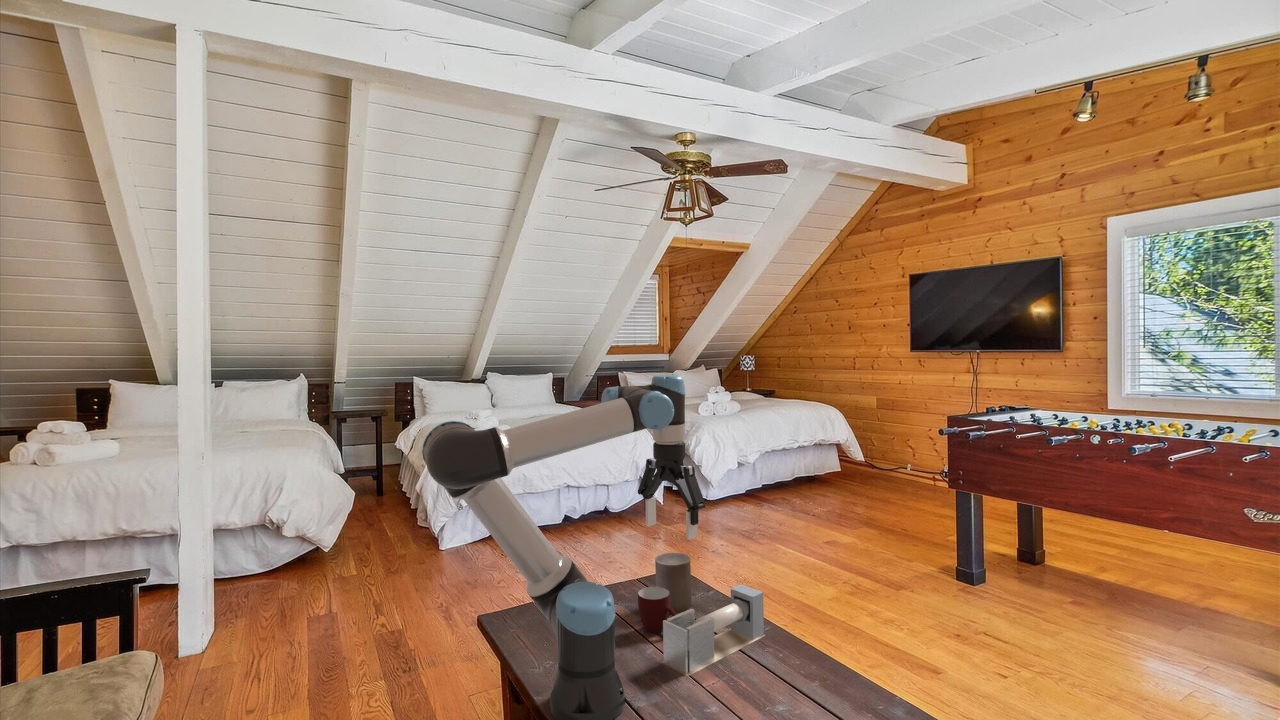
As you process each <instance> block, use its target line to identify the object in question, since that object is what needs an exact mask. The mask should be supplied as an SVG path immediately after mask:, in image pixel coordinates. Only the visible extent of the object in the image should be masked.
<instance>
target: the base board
mask: <svg viewBox="0 0 1280 720" xmlns="http://www.w3.org/2000/svg"><path fill="white" fill-rule="evenodd" d="M764 637H766V634H763V635H761V636H759V637H757V638H756V639H754V640H753V639H751V638H748V637H746V636H744V635H742V634H739V633H737V632H735V631H732V630H731V627H730V628H728V629H725V630H724V631H722V632H720V633H718V634H716V635H714V660H713V661H711V662H709V663H707V664H706V665H704V666H702V667H700V668H698V669H696V670H694V671H692V672H690V673H689V672H688V674H686V675H685V674H684V673H682V672H680V671H678V670H676V669H674V668H672V667H671V666H669V665H667V664H665V663H664V660H662V661H660V663H661V664H663V665H665V666H667V667H669V668H670V669H672V670H674V671H676V672H677V673H679V674H681V675H683V676H685V677H689V676H692V675H693V674H695V673H698V672H699V671H701V670H703V669H705V668H708V667H709V666H711V665H712V664H714V663H716V662H719V661H720V660H721V659H723V658H726V657H727V656H730V655H731V654H733V653H735V652H737V651H739V650H741V649H742V648H745V647H747V646H749V645H750V644H752V643H755V642H756V641H758V640H761V639H762V638H764Z"/></svg>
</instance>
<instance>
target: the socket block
mask: <svg viewBox="0 0 1280 720" xmlns="http://www.w3.org/2000/svg"><path fill="white" fill-rule="evenodd" d="M735 599H739V600H741V599H745V600H747V601H750V615H748V616H747V618H746V619H745V620H744V621H742V622H734V623H732V624H730V628H731V630H732V631H735V632H737V633H739V634H742V635H744V636H746V637H748V638H751V639H753V640H754V639H756V638H757V637H759V636H761V635H763V634H764V633H765V632H764V630H765V629H764V623H765V622H764V619H765V616H764V613H765V612H764V611H765V610H764V592H763V591H761V590H758V589H755V588H752V587H749V586H747V585H744V584H742V583H741V584H738V585H736V586H734V587H731V588H730V602H731V601H732V600H735ZM764 635H765V634H764Z"/></svg>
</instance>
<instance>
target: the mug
mask: <svg viewBox="0 0 1280 720" xmlns="http://www.w3.org/2000/svg"><path fill="white" fill-rule="evenodd" d="M637 605H638V610H639V615H640V621H641V625H642V626H643V628H644V630H645V632H647V633H650V634H660V633H663V621H664V620H666V621H667V619H668V618H669V615H668V614H669V613H670V614H671V615H670V618H671V617H673V616H675V615H677V613H675V611H674V609H673V608H671V607H670V592H669V591H668V590H667V589H665V588H662V587H656V586H648V587H647V586H646V587H643V588H641V589H639V590H638V592H637Z"/></svg>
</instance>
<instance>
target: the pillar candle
mask: <svg viewBox="0 0 1280 720" xmlns="http://www.w3.org/2000/svg"><path fill="white" fill-rule="evenodd" d="M654 562H655V563H654V564H655V587H662V588H665V589H667V590H668V591H669V592H670V607H671V608H673V609H674V611H675V613H676V614H677V613H678V614H680V613H682V612H685V611H687V610H689V609H692V607H693V605H692V577H691V576H692V571H691V558H690V556H689V555H688V554H685V553H681V552H668V553H662V554H661V553H660V554H659V555H657V556H656V557H655V558H654ZM668 616H671V614H670V613H669V614H668Z"/></svg>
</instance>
